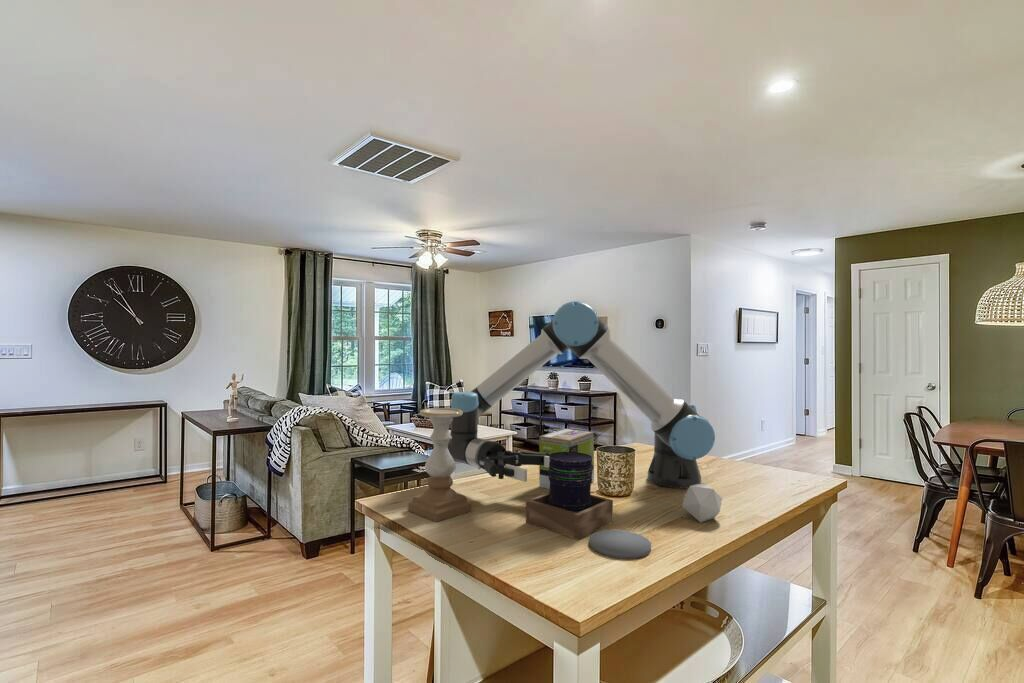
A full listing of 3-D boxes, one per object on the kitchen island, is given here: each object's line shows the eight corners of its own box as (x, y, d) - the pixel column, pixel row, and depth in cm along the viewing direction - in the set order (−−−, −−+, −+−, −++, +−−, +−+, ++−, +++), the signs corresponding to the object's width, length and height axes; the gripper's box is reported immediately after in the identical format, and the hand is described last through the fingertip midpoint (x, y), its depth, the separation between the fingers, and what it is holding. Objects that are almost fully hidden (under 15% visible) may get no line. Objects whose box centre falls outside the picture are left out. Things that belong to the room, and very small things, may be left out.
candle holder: (406, 510, 122) (408, 410, 122) (442, 500, 130) (444, 406, 130) (435, 522, 115) (437, 415, 115) (472, 510, 123) (474, 411, 123)
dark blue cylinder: (598, 529, 112) (599, 461, 112) (554, 532, 110) (556, 462, 110) (582, 514, 122) (583, 451, 122) (542, 516, 120) (543, 452, 120)
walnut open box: (561, 508, 126) (562, 487, 126) (612, 522, 117) (612, 500, 117) (525, 522, 115) (526, 500, 115) (578, 539, 106) (578, 515, 106)
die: (699, 512, 127) (677, 481, 126) (732, 502, 122) (708, 469, 121) (695, 534, 120) (671, 502, 119) (729, 524, 115) (704, 490, 115)
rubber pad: (608, 530, 112) (609, 525, 112) (661, 545, 104) (661, 540, 104) (578, 546, 103) (578, 541, 103) (633, 564, 95) (633, 559, 95)
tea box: (564, 476, 156) (565, 427, 156) (594, 482, 150) (595, 431, 150) (537, 487, 144) (538, 434, 144) (569, 494, 138) (570, 439, 138)
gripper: (519, 461, 145) (579, 477, 130) (448, 477, 127) (507, 497, 112) (520, 435, 145) (579, 447, 129) (449, 447, 127) (507, 462, 112)
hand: (546, 470), depth 121 cm, fingers open, 13 cm apart
